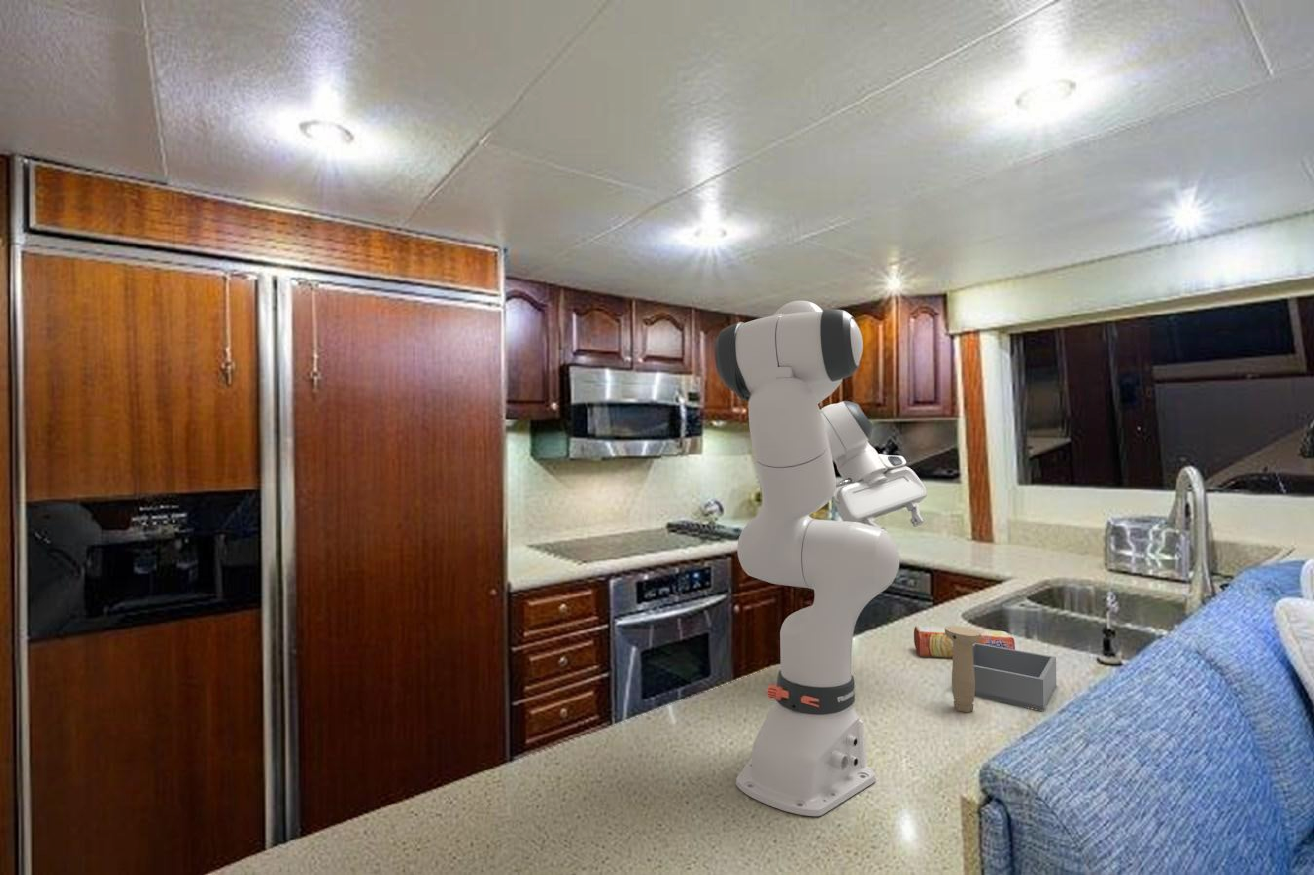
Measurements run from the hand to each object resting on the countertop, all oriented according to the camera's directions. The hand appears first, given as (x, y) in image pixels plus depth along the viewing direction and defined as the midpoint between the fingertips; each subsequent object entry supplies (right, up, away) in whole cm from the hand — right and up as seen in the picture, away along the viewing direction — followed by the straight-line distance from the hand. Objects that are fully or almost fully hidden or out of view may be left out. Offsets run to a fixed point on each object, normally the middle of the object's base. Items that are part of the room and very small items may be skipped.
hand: (901, 531), depth 129 cm
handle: (+10, -33, -6) cm, 35 cm away
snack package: (+24, -33, +24) cm, 47 cm away
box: (+23, -33, +4) cm, 40 cm away
